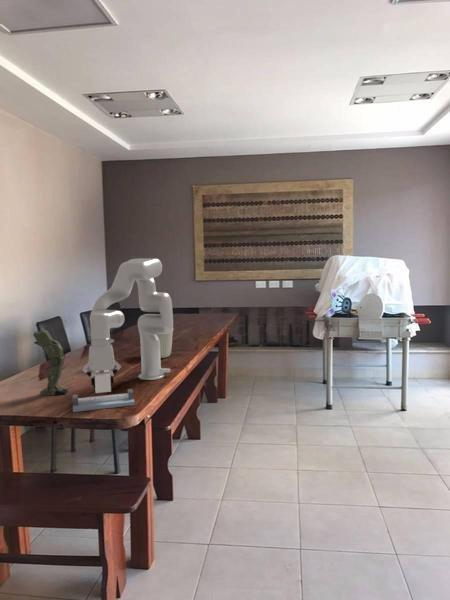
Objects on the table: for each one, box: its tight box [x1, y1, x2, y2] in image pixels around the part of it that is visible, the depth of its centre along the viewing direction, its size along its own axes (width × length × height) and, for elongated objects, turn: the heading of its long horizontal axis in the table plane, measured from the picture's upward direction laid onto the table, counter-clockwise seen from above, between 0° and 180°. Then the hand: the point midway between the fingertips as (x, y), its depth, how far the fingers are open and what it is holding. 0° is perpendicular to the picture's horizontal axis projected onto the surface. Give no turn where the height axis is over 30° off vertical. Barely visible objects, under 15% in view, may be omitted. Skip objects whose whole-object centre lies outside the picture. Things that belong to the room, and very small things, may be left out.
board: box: [72, 398, 136, 413], centre depth 196 cm, size 24×12×2 cm, turn 107°
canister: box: [156, 328, 174, 359], centre depth 284 cm, size 18×18×21 cm
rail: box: [72, 388, 135, 407], centre depth 196 cm, size 24×5×3 cm, turn 107°
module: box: [94, 370, 112, 394], centre depth 195 cm, size 6×8×8 cm
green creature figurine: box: [32, 329, 69, 396], centre depth 212 cm, size 14×7×30 cm, turn 92°
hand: (102, 385), depth 195 cm, fingers closed on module, 6 cm apart
